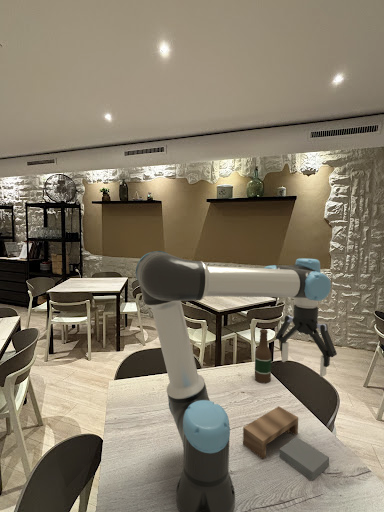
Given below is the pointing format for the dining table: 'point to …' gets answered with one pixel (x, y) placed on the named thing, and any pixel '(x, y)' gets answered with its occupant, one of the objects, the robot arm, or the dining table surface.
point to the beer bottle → (263, 359)
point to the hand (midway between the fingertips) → (302, 367)
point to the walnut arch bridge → (268, 429)
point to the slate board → (304, 458)
